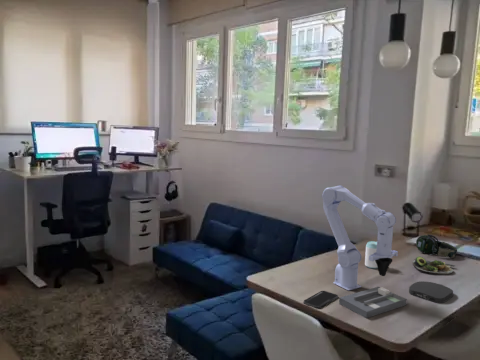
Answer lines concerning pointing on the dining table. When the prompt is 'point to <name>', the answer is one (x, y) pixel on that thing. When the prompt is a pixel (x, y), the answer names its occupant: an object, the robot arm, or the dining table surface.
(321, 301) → the phone
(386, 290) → the block
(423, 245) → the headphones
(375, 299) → the panel
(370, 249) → the can
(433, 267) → the salad plate
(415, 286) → the media streaming box
